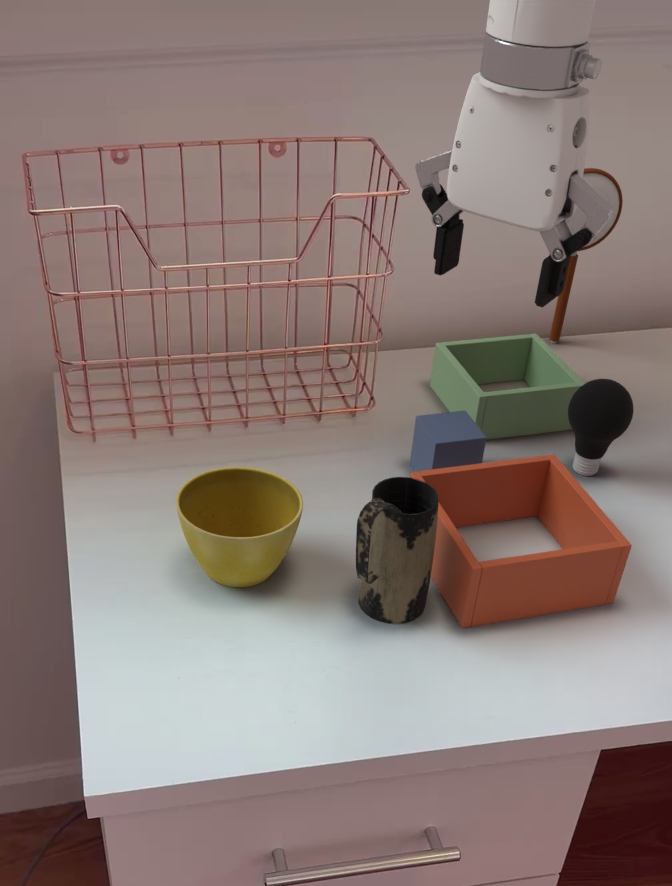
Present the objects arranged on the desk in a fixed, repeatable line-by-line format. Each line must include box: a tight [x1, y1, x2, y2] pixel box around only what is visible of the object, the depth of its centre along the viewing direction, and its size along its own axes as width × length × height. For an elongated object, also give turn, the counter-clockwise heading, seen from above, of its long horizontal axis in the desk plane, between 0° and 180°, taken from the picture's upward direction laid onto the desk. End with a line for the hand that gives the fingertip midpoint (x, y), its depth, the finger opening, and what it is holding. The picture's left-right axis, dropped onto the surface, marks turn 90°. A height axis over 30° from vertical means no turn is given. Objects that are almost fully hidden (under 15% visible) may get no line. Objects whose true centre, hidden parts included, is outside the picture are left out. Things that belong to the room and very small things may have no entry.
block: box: [409, 410, 487, 472], centre depth 96 cm, size 5×5×6 cm
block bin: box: [409, 453, 632, 629], centre depth 86 cm, size 14×14×7 cm
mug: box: [355, 476, 439, 625], centre depth 79 cm, size 8×6×12 cm
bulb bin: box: [429, 333, 586, 441], centre depth 107 cm, size 12×12×6 cm
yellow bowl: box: [175, 466, 304, 588], centre depth 84 cm, size 10×10×7 cm
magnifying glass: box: [548, 167, 624, 345], centre depth 114 cm, size 9×2×20 cm, turn 98°
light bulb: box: [568, 378, 634, 477], centre depth 97 cm, size 6×6×10 cm
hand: (494, 285), depth 88 cm, fingers open, 9 cm apart
